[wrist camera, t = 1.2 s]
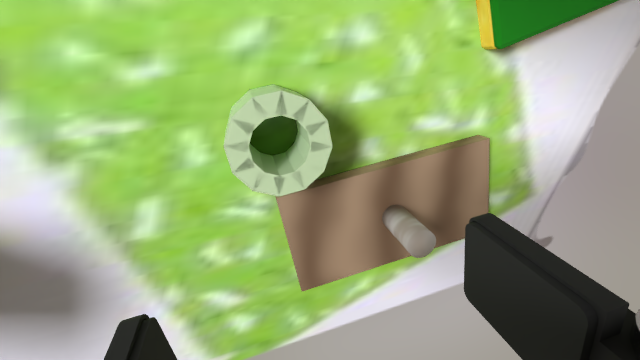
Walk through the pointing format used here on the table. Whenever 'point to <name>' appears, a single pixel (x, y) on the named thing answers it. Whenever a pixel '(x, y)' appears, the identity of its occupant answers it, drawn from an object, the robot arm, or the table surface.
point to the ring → (285, 168)
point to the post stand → (385, 210)
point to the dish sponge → (526, 18)
